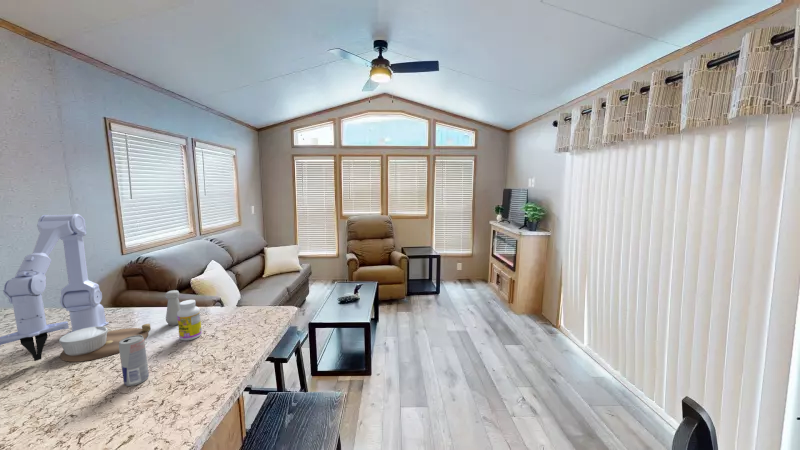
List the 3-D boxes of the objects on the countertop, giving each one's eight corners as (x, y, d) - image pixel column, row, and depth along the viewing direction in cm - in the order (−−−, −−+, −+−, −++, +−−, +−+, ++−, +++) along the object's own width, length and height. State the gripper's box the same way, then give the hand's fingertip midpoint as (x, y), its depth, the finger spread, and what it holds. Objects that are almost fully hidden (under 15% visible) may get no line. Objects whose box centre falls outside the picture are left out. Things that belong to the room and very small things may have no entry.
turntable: (94, 331, 117) (93, 325, 117) (161, 326, 121) (160, 320, 121) (38, 365, 96) (37, 358, 96) (121, 357, 100) (120, 350, 99)
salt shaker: (175, 327, 120) (171, 294, 119) (162, 326, 121) (158, 293, 120) (188, 320, 126) (184, 289, 124) (176, 319, 127) (172, 288, 125)
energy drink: (133, 375, 90) (128, 335, 89) (153, 374, 91) (148, 334, 89) (118, 387, 85) (112, 344, 84) (140, 385, 86) (134, 343, 84)
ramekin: (117, 343, 108) (115, 328, 107) (75, 360, 98) (72, 344, 97) (96, 338, 112) (94, 324, 111) (53, 354, 101) (50, 339, 100)
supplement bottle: (175, 339, 111) (171, 304, 109) (193, 331, 117) (190, 297, 115) (188, 342, 109) (184, 306, 107) (206, 334, 115) (202, 299, 113)
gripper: (-10, 328, 86) (-1, 375, 88) (67, 311, 98) (73, 353, 99) (-9, 321, 91) (-1, 366, 93) (64, 306, 102) (70, 346, 104)
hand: (37, 359), depth 96 cm, fingers closed
